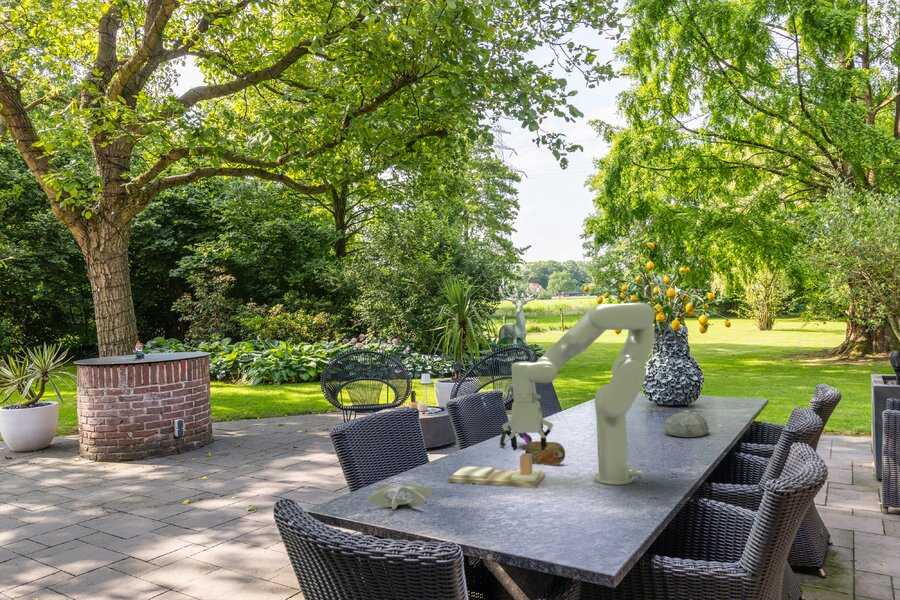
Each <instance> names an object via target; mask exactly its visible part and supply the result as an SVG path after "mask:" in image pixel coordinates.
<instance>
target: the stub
mask: <svg viewBox="0 0 900 600" xmlns="http://www.w3.org/2000/svg"><path fill="white" fill-rule="evenodd" d="M519 466H520V468H518V469H516V470H515V471H516V472H515V473H514V474H513V476H512V477H511V480H516V481H535V480H536V479H537V478H538V476H539V475H540V474H541V472H543V471H542V469H540V468H533V463H532V454H526V453H522V454H521V455H520V456H519Z"/></svg>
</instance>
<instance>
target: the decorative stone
mask: <svg viewBox="0 0 900 600" xmlns="http://www.w3.org/2000/svg"><path fill="white" fill-rule="evenodd" d="M663 429H664V431H665V433H666V435H668V436H675V437H679V438H697V437H698V436H699V437H702V436H705V435H706V434H708V432H709V429H710V428H709V424H708V421H707V419H706V418H704V417H703V416H701V415H700V414H699V413H698V412H697V411H696V412H695V411H694V412H690V411H689V410H684V412H677V413H674V414H672V415H670V416H669V417H667V419H666V420H665V421H664V426H663Z"/></svg>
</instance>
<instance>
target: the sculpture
mask: <svg viewBox="0 0 900 600" xmlns="http://www.w3.org/2000/svg"><path fill="white" fill-rule="evenodd" d="M389 493H390V494H391V493H394V496H393V498H392V496H391V495H390V494H389ZM399 493H403V495H402V497H400V498H398V495H399ZM432 493H433V490H432V489H431V488H430V487H428V486H425V485H421V484H416V483H411V482H406V481H405V482H403V485H402V486H395V487H393V484H391V483H390V484H386V485H381V486H379V487H378V488H376V491H375V492H374V493H373V494H371V495H370V496H368V497H367V501H368V503H370V504H371V505H375V506H378V507H384V508H388V507H392V508H391V509H392V510H397V509H398V508H397V507H398V506H400V505H407V504H408V507H409V506H411V507H417V506H421V505H423V504H425V503H426V498H427V497H429V496H430V495H432ZM407 494H409V495H410V496H411V497H410V498H409V497H408V498H407V497H406V496H407Z"/></svg>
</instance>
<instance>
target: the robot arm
mask: <svg viewBox="0 0 900 600" xmlns="http://www.w3.org/2000/svg"><path fill="white" fill-rule="evenodd" d="M655 314H656V313H655V310H654V309H653V308H652V306H651V305H649V304H647V303H646V302H630V303H629V302H628V303H627V302H626V303H625V302H624V303H598V304H596V305H594V306H593V307H591V308H590V309H589V310H588V311H587V312H586V313H585V314H584V315H582V316H581V318H580V319H579V320H578V321H577V322H576V323H575V324H574V325H573V326H572V327H571V328H569V329H568V330H567V331H566V333H564V334H563V335H562V336H561V337H560V338H559V339H558V340H557V341H556V342H555V343H554V344H553V345H552V346H551V347H550V348H549V349H548V350H547V351H546V352H544V354H542V355H541V356H540V358H538V360H536V362H532V361H517V362H514V363H512V364H511V366H510V367H511V378H512V379H511V380H512V391H513V392H512V394H513V402H512V405H511V419H510V420H508V421H507V422H505V423H503V424H502V425H501V428H502V429H503V431H505V433H506V436H508V437H509V439H510V444H511V448H512V450H513V451H516V450H517V449H518V440H517V437H516V436H517V435H516V434H518V433H527V434H529V433H530V434H533V433H534V434H536V433H537V434H538V435H539V436H540V441H541V450H544V449H545V447H547V444H546V442H547V436H548V435H549V434H550V433H551V431H552V429H553V427H554V424H553V423H552V422H550V421H548V420H545V419H543V413H542V408H541V404H540V401H538V400H539V399H541V398H542V397H541V394H538V393H537V390H536V389H537V388H536V383H538V384H539V383H543V384H547V383H548V384H549V383H552V382H553V381H555V379H556V378H557V377H558V371H559V370H560V369H561V368H562V367H564V366H565V364H567V363H568V362H569V361H570V360H572V359H573V358H574V357H576V356H578V355H580V354H583V352H585V351H586V350H587V349H588V348H589V347H591V345H592V344H593V343H594V342H595V341H596V340H597V339H598V338H600V336H601V335H603V333H605V331H607V330H608V331H619V330H620V331H621V330H624V331H625V330H628V332H627V337H626V339H625V342H624V344H623V346H622V348H621V350H620V351H619V353H618V355H617V357H616V359H615V361H613V364H612V365H611V366H612V367H611V374H612V376H611V379H609V382H608V383H606V384H603V385H602V386H600V387H599V388H598V389H597V390H596V392H595V394H594V395H595V396H594V409H595V415H596V416H595V417H596V434H597V435H596V436H597V438H596V439H597V459H598V460H597V461H598V463H597V464H598V473H596V474H594V475H593V479H594V481H595V482H596V483H600V484H604V485H614V486H615V485H618V486H619V485H627V484H630V483H632V482H634V477H643V470H640V469H632V468H630V465H629V460H628V459H629V458H628V437H627V435H628V434H627V417H626V415H627V413H628V412H629V411H630V409H631V408H632V405H633V403H634V402H635V400H636V399H637V397H638V395H639V392H640V391H641V389H642V387H643V385H644V384H645V381H646V377H647V371H646V370H647V369H646V367H645V363H646V361H647V359H648V358H649V355H650V353H651V351H652V349H653V346H654V342H655V336H656V335H655V327H654V321H655V317H656V315H655ZM509 426H511V430H512V431H511V430H510V429H509ZM544 426H546V427H547V429H546V431H545V430H544Z"/></svg>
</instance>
